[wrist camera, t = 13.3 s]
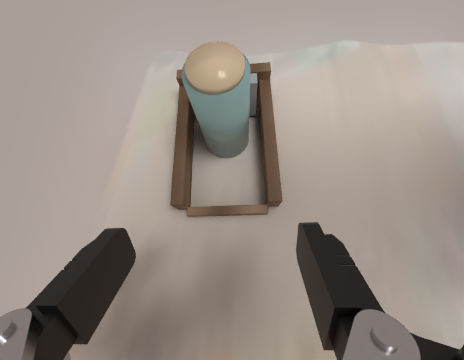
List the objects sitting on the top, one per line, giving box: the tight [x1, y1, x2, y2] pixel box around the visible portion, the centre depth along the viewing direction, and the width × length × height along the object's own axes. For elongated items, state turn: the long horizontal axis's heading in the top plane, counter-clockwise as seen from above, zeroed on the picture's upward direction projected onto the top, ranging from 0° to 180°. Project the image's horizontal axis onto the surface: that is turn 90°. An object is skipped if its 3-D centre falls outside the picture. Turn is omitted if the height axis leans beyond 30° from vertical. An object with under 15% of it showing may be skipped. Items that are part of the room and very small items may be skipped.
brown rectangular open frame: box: [170, 62, 282, 217], centre depth 21 cm, size 10×16×4 cm, turn 1°
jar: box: [182, 42, 250, 158], centre depth 19 cm, size 5×5×10 cm
